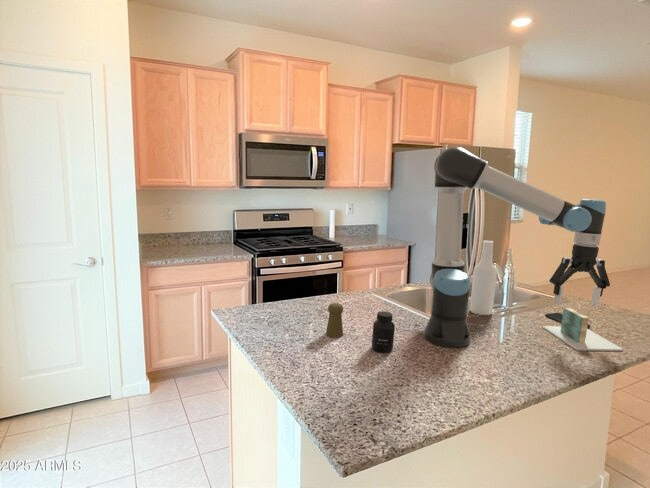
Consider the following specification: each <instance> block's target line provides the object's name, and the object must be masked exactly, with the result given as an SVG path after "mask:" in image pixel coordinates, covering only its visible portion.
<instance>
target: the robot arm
mask: <svg viewBox="0 0 650 488" xmlns="http://www.w3.org/2000/svg"><path fill="white" fill-rule="evenodd" d="M433 167H434V174H435V175H434V188H435V190H436V191H437V192H438V204H437V207H438V209H437V211H438V212H437V213H438V214H437V228H436V229H437V232H436V233H437V234H436V236H437V237H436V254H435V255H436V257H435V258H434V259H433V260H432V261H431V273H430V276H429V277H430V278H429V282H430V283H429V284H430V286H431V290H432V291H431V292H432V301H431V314H430V317H429V318H428V321H427V323H426V326H425V327H424V335H423V336H424V337H423V338H424V339H425V340H426V341H427V342H429V343H431V344H433V345H436V346H440V347H443V348H444V347H445V348H452V349H454V348H464V347H467V346H469V345H470V344H471V343H470V342H471V333H470V329H469V325H468V321H467V317H468V309H469V299H470V298H469V297H470V289H471V286H472V285H471V277H470V275H469V274H468V273H466V272H465V271H466V270H465V269H466V268H465V267H466V265H465V264H466V263H465V262H464V261H463V259H462V243H463V242H462V241H463V240H462V239H463V223H464V221H463V220H464V219H463V217H464V202H465V201H464V199H465V197H464V196H465V192H466V191H467V190H468V189H471V190H474V189H479V190H481V191H483V192H486V193H488V194H489V195H492V196H494V197H496V198H499V199H501V200H503V201H504V202H507V203H509V204H512V205H513V206H516V207H519V208H520V209H522V210H524V211H526V212H529V213H532V214H533V215H535V216H537V217H538V221H539V223H540V224H542V225H546V226H547V225H548V226H557V227H560V228H563V229H565V230H567V231H570V232H571V233H572V232H574V237H573V243H574V244H573V245H572V251H571V258H568V257H565V256H563V257H562V258H561V262H560V263H559V265H558V266H557V269H556V270H555V271H554V273H553V274H552V276H551V277H550V279H549V283H550V284H553V285H554V286H553V287H554V289H553V291H552V292H553V294H554V299H553V303H554V304H556V305H557V306H561V304H562V297H563V291H564V286H562V285H563V284H565V283H566V282H567V280H569V279H570V278H571V277H572V276H573V275H574V274H576V273H578V272H579V273H583V272H584V273H588V274H589V276H590V277H591V279H592V280H593V282H594V283H595V285H594V286H593V291H592V295H591V300H590V301H591V303H590V305H593V306H595V307H599V304H600V298H602V296H603V293H604V290H605V289H606V288H607V287H610V286H611V282H610V279H609V277H608V274H607V273H608V272H607V271H606V270H607V269H606V261H605V260H604V259H601V258H598V255H599V250H600V248H599V246H600V242H601V237H602V232H603V227H604V226H603V225H604V222H605V216H606V210H607V202H606V201H605V200H603V199H602V200H601V199H592V198H581V199H580V202H579V203H578V204H573V203H571V202H568V201H566V200H564V199H562V198H560V197H558V196H555V195H554V194H551V193H549V192H547V191H544V190H543V189H540V188H538V187H536V186H534V185H531V184H530V183H527V182H524V181H522V180H520V179H518V178H516V177H514V176H511V175H509V174H507V173H505V172H503V171H501V170H498V169H496V168H494V167H492V166H490V165H489V163H488V161H487V160H485V159H482V158H480V157H479V156H477V155H475V154H473V153H472V152H470V151H468V150H467V149H465V148H463V147H460V146H459V147H458V146H454V147H453V146H452V147H450V148H448V149H445V150H443V151H442V152H440V153H439V154H438V156H437V158H436V159H435V162H434V165H433ZM595 265H596V268H595ZM596 269H597V270H596ZM597 272H598V273H597Z"/></svg>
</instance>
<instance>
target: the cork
mask: <svg viewBox="0 0 650 488" xmlns="http://www.w3.org/2000/svg"><path fill="white" fill-rule="evenodd" d="M327 312H328V313H329V314H328V320H327V326H326V331H325V335H326V336H327V337H328V338H332V339H340V338H343V336H344V330H343V329H344V328H343V317H342V316H343V315H342V314H343V312H344V306H343V305H342V304H341V303H340V302H339V303H338V302H333V303H329V305H328V307H327Z"/></svg>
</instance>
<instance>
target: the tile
mask: <svg viewBox="0 0 650 488" xmlns="http://www.w3.org/2000/svg"><path fill="white" fill-rule="evenodd" d="M562 314H563V317H562V323H560V324H561V325H560V326H561V332H562V333H564V334H565V335H567V336H568V337H570V338H572V339H573V340H575V341H576V342H578V343H585V339H586V332H587V329H588V328H587V326H588V324H589V319H590V318H589V317H588V316H586V315H584V314H582V313H581V312H578V311H577V310H575V309H573V308H571V307H563V311H562Z"/></svg>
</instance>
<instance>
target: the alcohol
mask: <svg viewBox="0 0 650 488" xmlns="http://www.w3.org/2000/svg"><path fill="white" fill-rule="evenodd" d="M493 249H494V241H493V240H485V239H484V240H483V241H482V248H481V254H480V259H479V262H478V263H477V264H476V265H475V266H474V268H473V273H472V274H473V275H472V285H471V292H470V293H471V294H470V295H471V296H470V304H469V309H470V310H469V311H470V312H471V313H472V314H474V315H477V314H478V315H477V316H482V315H488V316H491V314H492V313H493V310H494V301H495V294H496V293H495V291H496V282H497V274H498V272H497V268H496V266H495V265H494V263H493V260H494V259H493V255H494V253H493V252H494V251H493Z"/></svg>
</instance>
